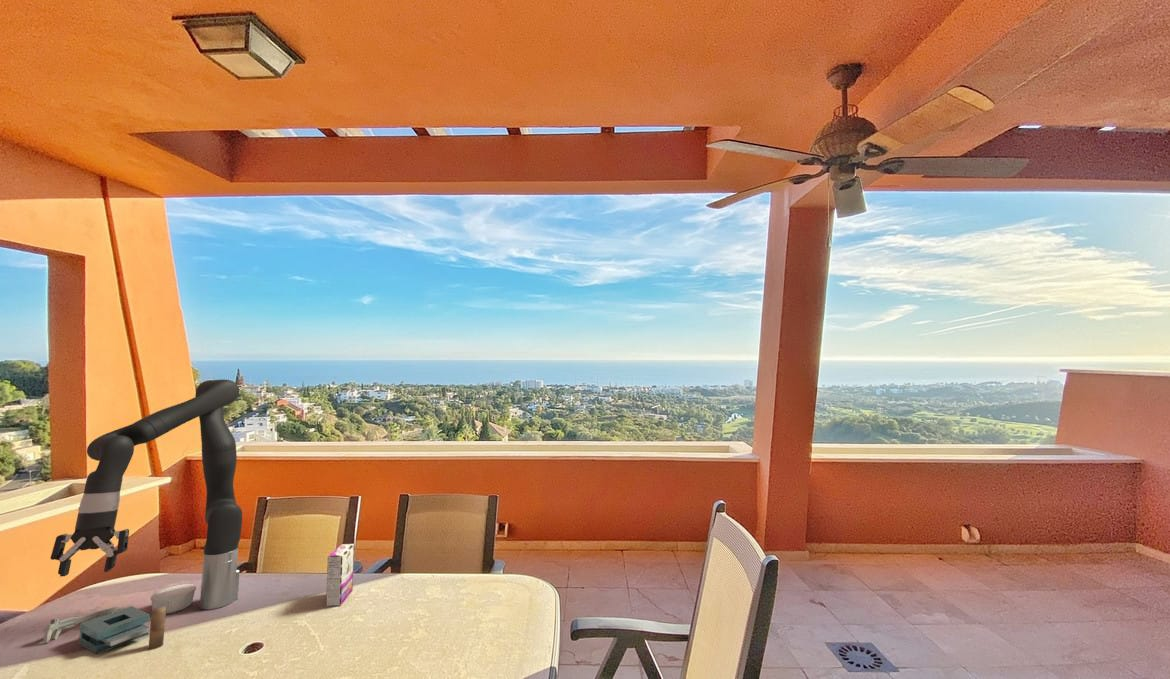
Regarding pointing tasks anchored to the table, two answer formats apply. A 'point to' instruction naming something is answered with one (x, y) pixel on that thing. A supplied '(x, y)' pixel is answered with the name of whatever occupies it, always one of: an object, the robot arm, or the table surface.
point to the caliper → (71, 623)
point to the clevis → (113, 629)
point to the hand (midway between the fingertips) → (86, 573)
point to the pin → (157, 627)
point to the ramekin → (174, 597)
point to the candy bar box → (339, 575)
